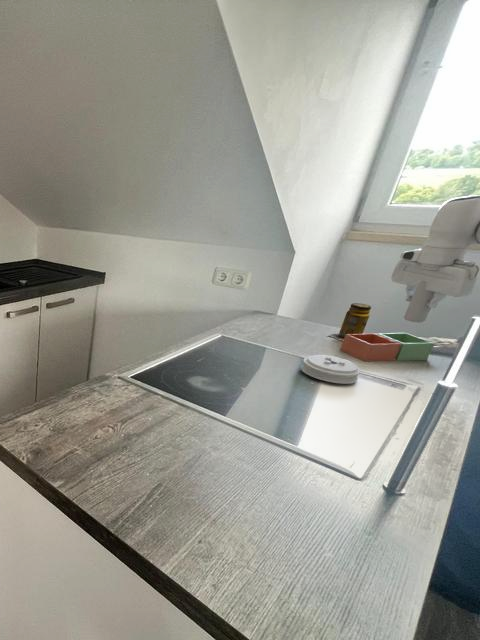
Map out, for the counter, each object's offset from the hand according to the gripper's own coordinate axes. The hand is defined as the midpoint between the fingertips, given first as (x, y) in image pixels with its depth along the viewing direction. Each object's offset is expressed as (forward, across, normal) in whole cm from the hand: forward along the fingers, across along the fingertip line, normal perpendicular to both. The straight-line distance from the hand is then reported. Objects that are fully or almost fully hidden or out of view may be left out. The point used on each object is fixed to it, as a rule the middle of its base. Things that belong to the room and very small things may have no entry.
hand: (419, 304), depth 116 cm
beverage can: (+5, 0, 0) cm, 5 cm away
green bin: (+16, 0, 0) cm, 16 cm away
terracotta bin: (+16, 0, +10) cm, 19 cm away
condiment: (+17, +15, +4) cm, 23 cm away
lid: (+17, -14, +33) cm, 40 cm away
